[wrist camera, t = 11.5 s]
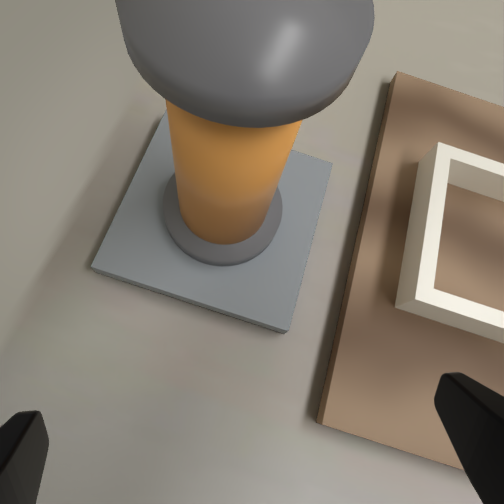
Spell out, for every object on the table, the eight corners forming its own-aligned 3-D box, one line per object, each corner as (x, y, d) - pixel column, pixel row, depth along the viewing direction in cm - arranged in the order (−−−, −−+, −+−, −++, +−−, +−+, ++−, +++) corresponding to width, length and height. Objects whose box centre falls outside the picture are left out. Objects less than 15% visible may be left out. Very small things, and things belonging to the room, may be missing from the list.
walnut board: (591, 511, 18) (611, 517, 17) (315, 422, 18) (322, 424, 17) (583, 147, 26) (597, 139, 25) (390, 82, 26) (397, 71, 25)
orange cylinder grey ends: (301, 215, 21) (422, 11, 9) (220, 290, 19) (249, 148, 7) (224, 143, 21) (249, -124, 10) (139, 207, 20) (55, -32, 8)
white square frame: (562, 362, 20) (601, 360, 18) (394, 307, 19) (415, 299, 18) (563, 210, 23) (595, 194, 21) (418, 161, 23) (438, 141, 21)
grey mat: (284, 333, 19) (288, 331, 18) (96, 272, 19) (90, 266, 18) (327, 172, 23) (332, 163, 22) (168, 119, 23) (167, 108, 22)
